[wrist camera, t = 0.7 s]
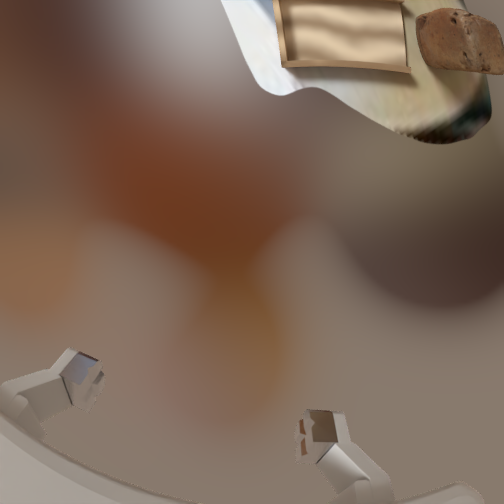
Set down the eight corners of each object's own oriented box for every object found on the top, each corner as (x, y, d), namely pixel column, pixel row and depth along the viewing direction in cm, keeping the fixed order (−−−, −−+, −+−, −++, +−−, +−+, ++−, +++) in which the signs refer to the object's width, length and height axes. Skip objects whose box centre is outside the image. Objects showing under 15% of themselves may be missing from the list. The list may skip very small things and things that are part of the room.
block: (453, 67, 31) (513, 80, 16) (421, 67, 34) (473, 76, 19) (440, 16, 26) (495, 5, 10) (406, 14, 28) (452, -4, 13)
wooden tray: (273, -6, 32) (270, -10, 29) (398, -1, 27) (403, -5, 24) (284, 67, 41) (281, 67, 39) (405, 72, 36) (411, 73, 33)
